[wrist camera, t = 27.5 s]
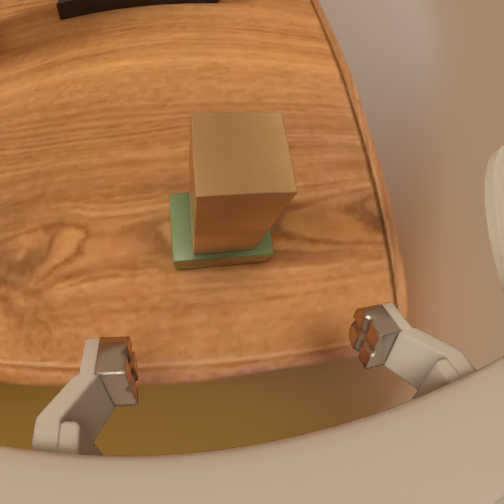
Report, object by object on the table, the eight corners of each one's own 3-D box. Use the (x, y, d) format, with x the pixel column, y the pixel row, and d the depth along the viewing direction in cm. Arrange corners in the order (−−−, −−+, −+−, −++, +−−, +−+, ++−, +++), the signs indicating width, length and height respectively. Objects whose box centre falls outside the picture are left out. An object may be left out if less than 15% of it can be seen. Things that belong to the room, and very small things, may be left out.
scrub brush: (257, 202, 19) (307, 106, 10) (265, 262, 18) (330, 200, 10) (171, 207, 18) (160, 106, 9) (175, 270, 17) (160, 209, 9)
